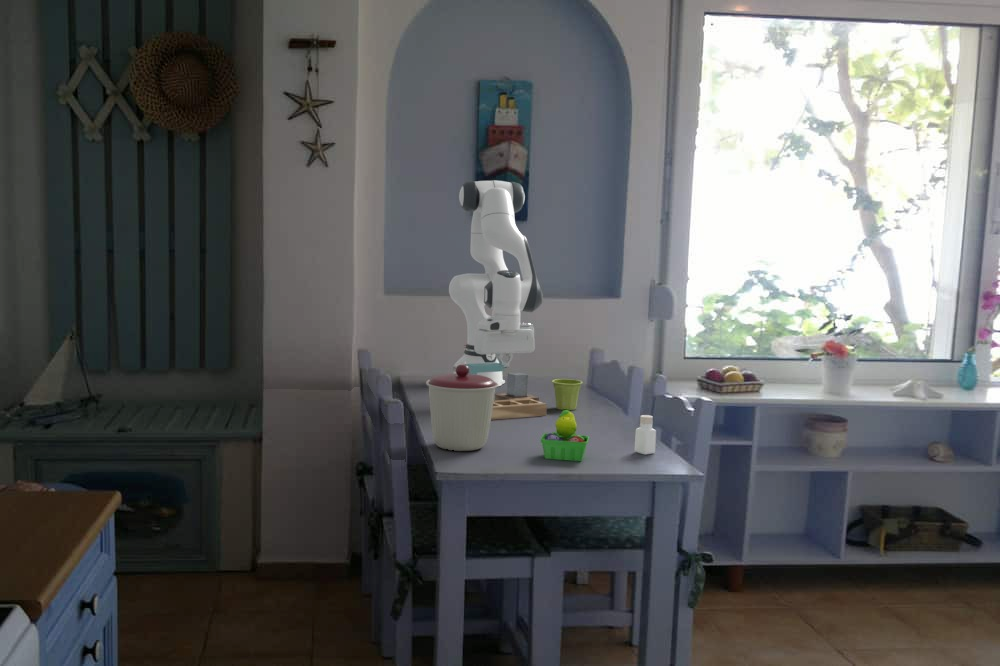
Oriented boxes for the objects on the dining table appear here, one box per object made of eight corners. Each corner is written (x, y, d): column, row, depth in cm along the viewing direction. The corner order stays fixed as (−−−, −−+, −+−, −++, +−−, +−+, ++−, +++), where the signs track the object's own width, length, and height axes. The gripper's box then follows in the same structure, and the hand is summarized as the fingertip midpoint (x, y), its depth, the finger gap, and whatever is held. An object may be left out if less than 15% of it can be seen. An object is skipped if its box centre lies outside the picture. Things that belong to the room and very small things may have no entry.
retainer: (492, 400, 308) (494, 362, 306) (504, 404, 302) (506, 365, 300) (455, 403, 301) (457, 363, 300) (466, 407, 295) (468, 367, 294)
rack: (465, 414, 291) (466, 402, 291) (528, 409, 302) (528, 398, 302) (482, 420, 282) (482, 408, 282) (546, 415, 294) (546, 403, 293)
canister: (510, 449, 248) (513, 366, 245) (456, 459, 235) (459, 372, 233) (463, 436, 261) (466, 357, 258) (409, 444, 248) (411, 362, 246)
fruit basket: (539, 459, 238) (541, 413, 237) (543, 451, 247) (545, 407, 246) (585, 463, 236) (588, 417, 235) (589, 455, 245) (591, 410, 244)
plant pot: (565, 412, 299) (566, 384, 298) (544, 407, 306) (545, 380, 305) (587, 409, 305) (588, 382, 304) (566, 404, 312) (567, 378, 311)
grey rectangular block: (506, 404, 309) (507, 373, 308) (518, 403, 311) (520, 372, 310) (514, 407, 305) (515, 375, 304) (526, 406, 307) (527, 374, 306)
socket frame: (521, 401, 315) (521, 392, 315) (538, 407, 306) (538, 397, 306) (447, 406, 301) (447, 397, 301) (462, 412, 293) (462, 402, 292)
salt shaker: (644, 450, 252) (646, 414, 251) (655, 453, 249) (657, 416, 248) (633, 452, 250) (635, 415, 249) (644, 455, 247) (646, 418, 246)
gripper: (528, 321, 311) (526, 364, 312) (472, 322, 300) (470, 367, 302) (539, 323, 305) (537, 367, 307) (482, 325, 295) (481, 370, 296)
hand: (504, 367), depth 304 cm, fingers closed
